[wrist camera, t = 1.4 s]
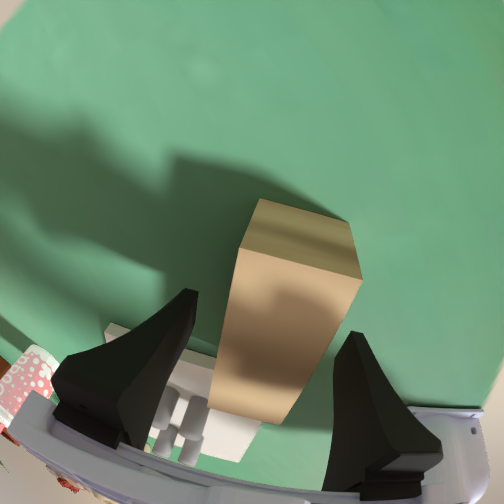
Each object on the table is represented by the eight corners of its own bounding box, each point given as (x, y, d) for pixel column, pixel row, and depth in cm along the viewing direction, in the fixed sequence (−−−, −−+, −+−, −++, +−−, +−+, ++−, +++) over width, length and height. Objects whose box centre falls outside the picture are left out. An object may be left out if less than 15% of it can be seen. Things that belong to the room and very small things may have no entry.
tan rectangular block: (260, 196, 13) (239, 247, 9) (348, 221, 13) (363, 280, 9) (225, 347, 18) (206, 407, 15) (288, 363, 18) (280, 425, 15)
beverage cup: (55, 349, 23) (-18, 461, 11) (76, 386, 26) (20, 487, 15) (17, 332, 24) (-53, 426, 12) (38, 369, 27) (-17, 456, 15)
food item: (89, 450, 42) (70, 489, 34) (115, 469, 46) (100, 506, 37) (54, 438, 47) (37, 471, 38) (78, 456, 50) (63, 488, 42)
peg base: (282, 375, 19) (275, 427, 15) (240, 454, 27) (232, 486, 24) (110, 322, 19) (82, 364, 16) (132, 420, 28) (118, 450, 24)
